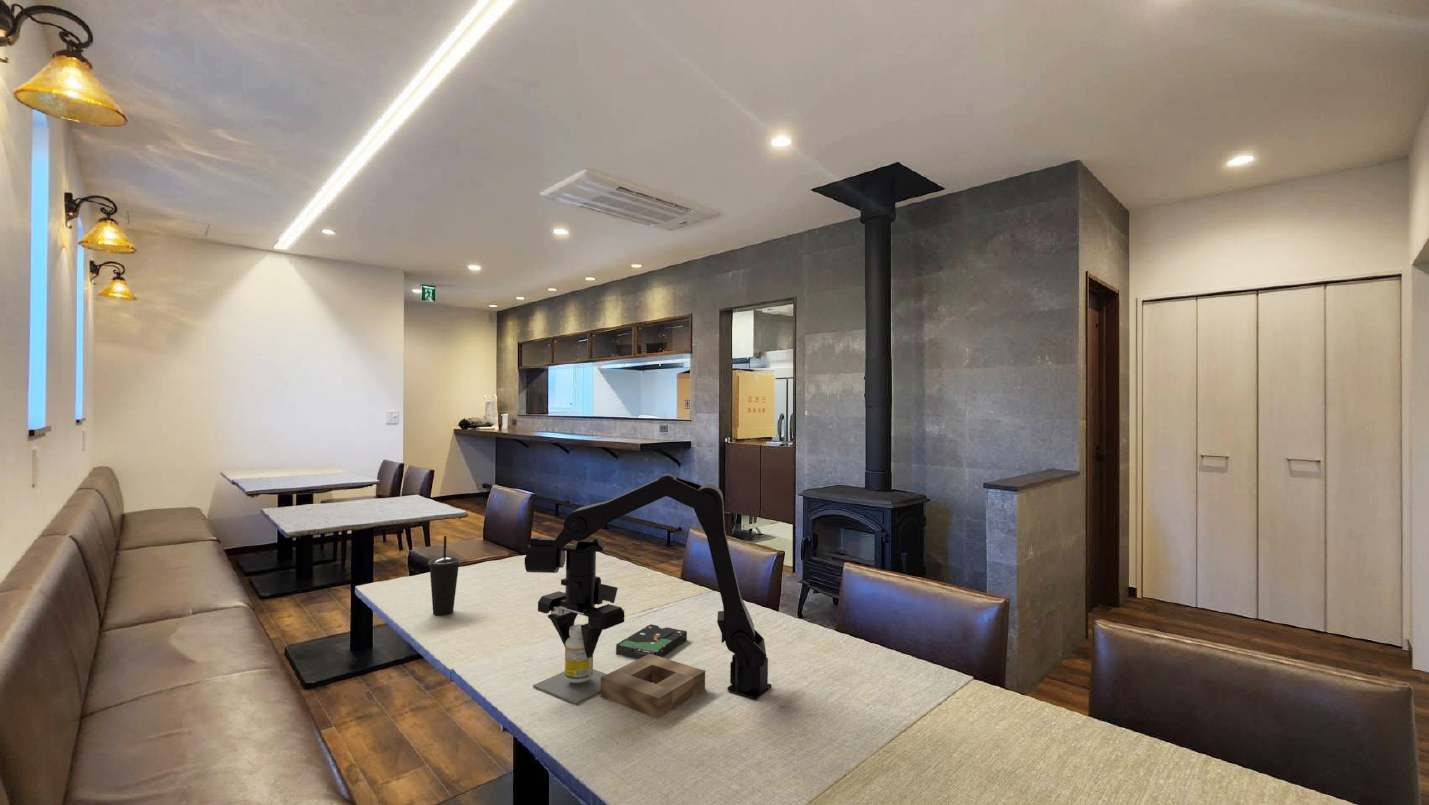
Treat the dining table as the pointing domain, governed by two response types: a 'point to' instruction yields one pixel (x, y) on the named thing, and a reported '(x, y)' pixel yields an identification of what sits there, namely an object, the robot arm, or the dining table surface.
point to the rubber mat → (571, 687)
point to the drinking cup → (443, 582)
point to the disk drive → (651, 642)
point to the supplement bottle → (577, 657)
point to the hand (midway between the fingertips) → (579, 653)
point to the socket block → (652, 685)
